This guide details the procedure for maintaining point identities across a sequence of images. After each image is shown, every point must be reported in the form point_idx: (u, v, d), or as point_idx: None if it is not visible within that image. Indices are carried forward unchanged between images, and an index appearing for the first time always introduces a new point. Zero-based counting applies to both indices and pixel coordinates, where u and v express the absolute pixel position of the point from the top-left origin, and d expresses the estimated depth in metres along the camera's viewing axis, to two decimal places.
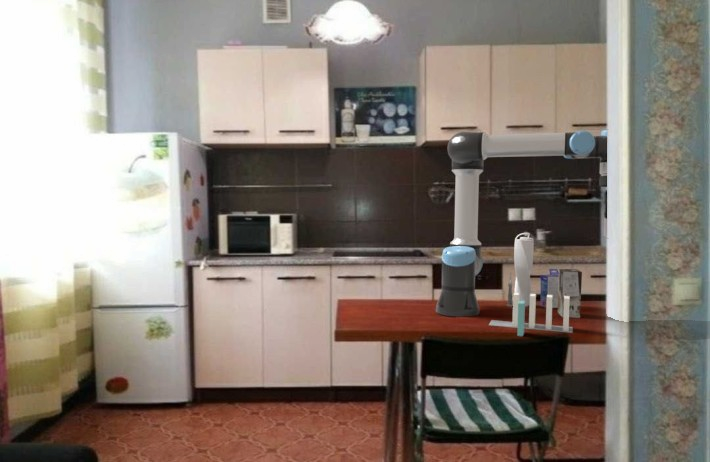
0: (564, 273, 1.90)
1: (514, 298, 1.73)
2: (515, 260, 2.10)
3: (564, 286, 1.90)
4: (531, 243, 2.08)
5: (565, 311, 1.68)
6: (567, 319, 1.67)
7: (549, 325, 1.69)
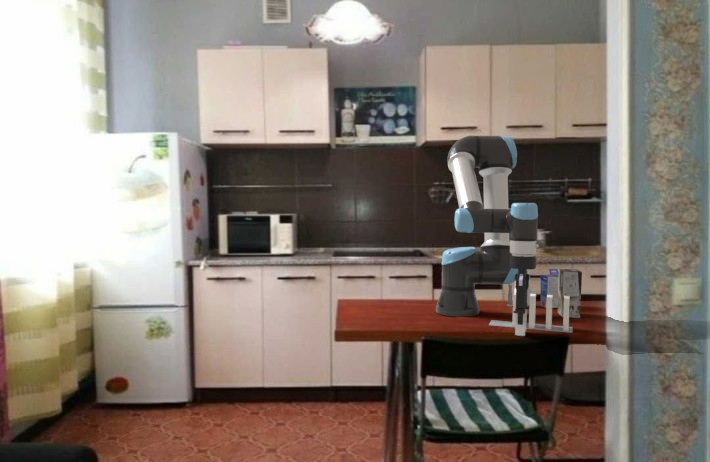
0: (564, 273, 1.90)
1: (514, 298, 1.73)
2: None
3: (564, 286, 1.90)
4: None
5: (565, 311, 1.68)
6: (567, 319, 1.67)
7: (549, 325, 1.69)
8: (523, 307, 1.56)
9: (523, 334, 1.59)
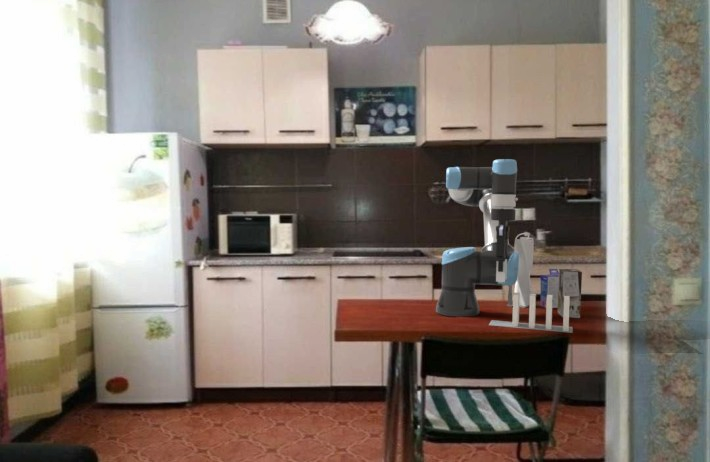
0: (564, 273, 1.90)
1: (514, 298, 1.73)
2: None
3: (564, 286, 1.90)
4: (531, 243, 2.08)
5: (565, 311, 1.68)
6: (567, 319, 1.67)
7: (549, 325, 1.69)
8: (503, 255, 1.70)
9: (503, 280, 1.73)
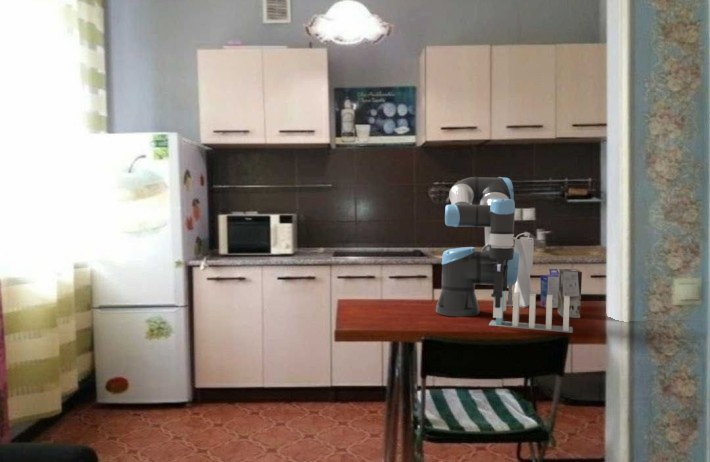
0: (564, 273, 1.90)
1: (514, 298, 1.73)
2: None
3: (564, 286, 1.90)
4: (531, 243, 2.08)
5: (565, 311, 1.68)
6: (567, 319, 1.67)
7: (549, 325, 1.69)
8: (500, 290, 1.68)
9: (500, 316, 1.71)
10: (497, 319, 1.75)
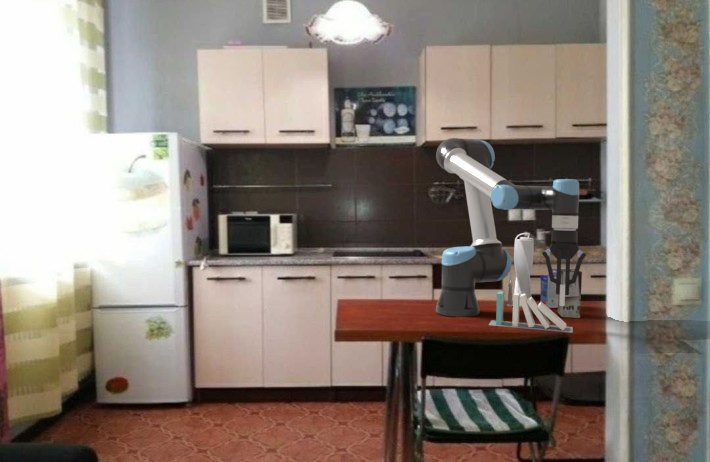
0: (564, 273, 1.90)
1: (514, 298, 1.73)
2: (515, 260, 2.10)
3: None
4: (531, 243, 2.08)
5: (548, 315, 1.69)
6: (556, 319, 1.69)
7: (546, 323, 1.70)
8: None
9: (559, 304, 1.70)
10: (497, 319, 1.75)
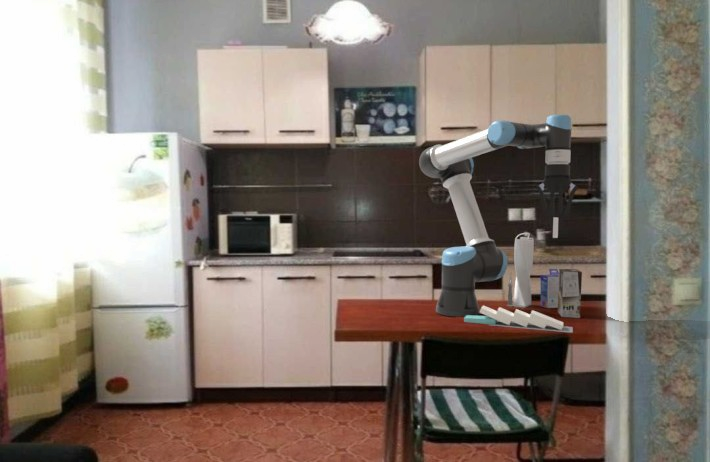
0: (564, 273, 1.90)
1: (483, 312, 1.76)
2: (515, 260, 2.10)
3: (564, 286, 1.90)
4: (531, 243, 2.08)
5: (542, 321, 1.70)
6: (551, 322, 1.69)
7: (541, 324, 1.70)
8: (543, 210, 1.77)
9: None
10: (490, 322, 1.76)
